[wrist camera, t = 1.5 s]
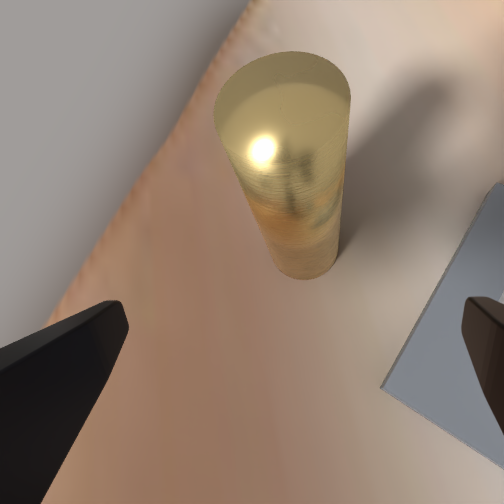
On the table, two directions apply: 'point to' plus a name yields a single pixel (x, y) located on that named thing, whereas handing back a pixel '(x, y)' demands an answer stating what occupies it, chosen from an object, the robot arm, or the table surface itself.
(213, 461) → the table surface
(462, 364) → the grey square base plate
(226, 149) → the brass shaft
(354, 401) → the table surface
